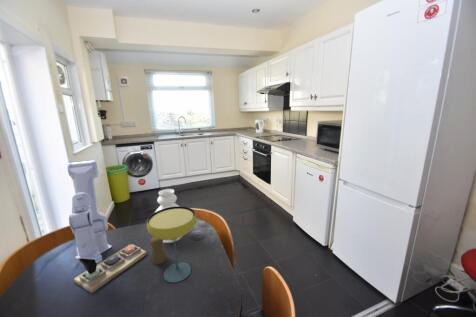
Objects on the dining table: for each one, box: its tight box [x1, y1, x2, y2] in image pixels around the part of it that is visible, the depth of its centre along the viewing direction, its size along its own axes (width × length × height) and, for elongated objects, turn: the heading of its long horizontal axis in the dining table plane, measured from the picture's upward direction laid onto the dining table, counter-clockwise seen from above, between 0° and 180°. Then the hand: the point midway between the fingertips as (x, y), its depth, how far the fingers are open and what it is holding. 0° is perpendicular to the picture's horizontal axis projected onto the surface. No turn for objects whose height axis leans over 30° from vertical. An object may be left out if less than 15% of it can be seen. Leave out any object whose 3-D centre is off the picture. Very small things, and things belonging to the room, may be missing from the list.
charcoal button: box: [105, 253, 119, 266], centre depth 89 cm, size 4×4×2 cm
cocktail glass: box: [146, 205, 197, 284], centre depth 83 cm, size 18×18×25 cm
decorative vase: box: [154, 188, 183, 244], centre depth 109 cm, size 18×18×25 cm
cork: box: [150, 236, 167, 265], centre depth 93 cm, size 6×6×11 cm
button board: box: [73, 243, 148, 294], centre depth 90 cm, size 12×24×3 cm, turn 152°
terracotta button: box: [124, 245, 136, 255], centre depth 96 cm, size 4×4×2 cm
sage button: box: [86, 268, 100, 280], centre depth 83 cm, size 4×4×2 cm
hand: (92, 272), depth 82 cm, fingers closed, pressing on sage button
